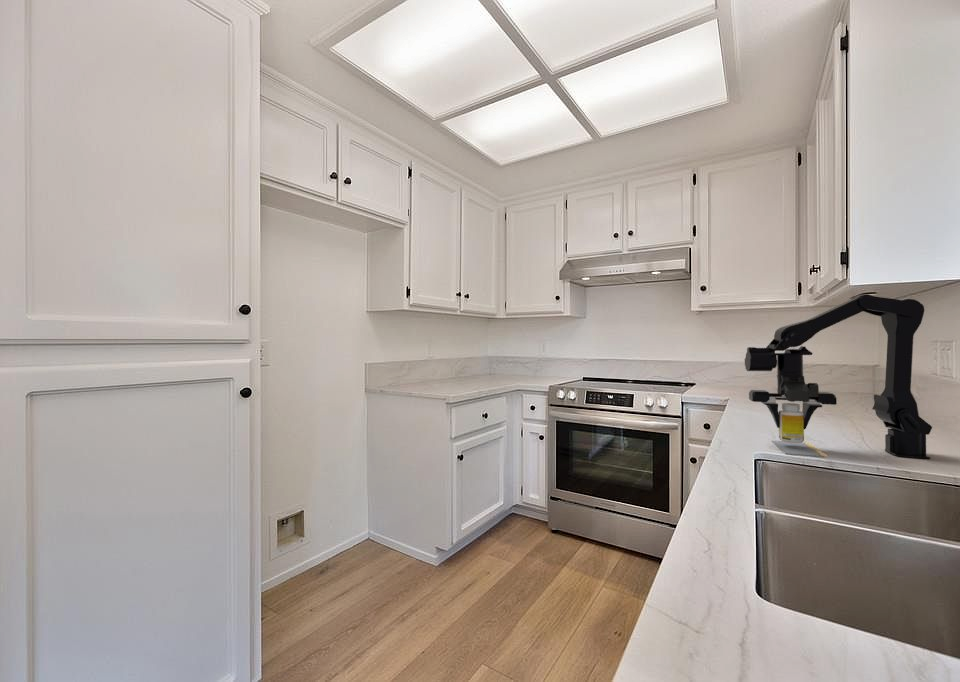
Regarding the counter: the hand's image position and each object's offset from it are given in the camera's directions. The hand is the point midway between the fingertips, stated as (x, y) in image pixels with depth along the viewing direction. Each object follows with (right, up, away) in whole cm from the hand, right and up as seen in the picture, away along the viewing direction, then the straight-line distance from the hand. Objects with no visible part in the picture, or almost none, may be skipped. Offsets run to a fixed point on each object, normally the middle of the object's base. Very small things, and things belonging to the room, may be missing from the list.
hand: (790, 428), depth 115 cm
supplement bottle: (0, -4, 0) cm, 4 cm away
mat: (+1, -5, -1) cm, 5 cm away
